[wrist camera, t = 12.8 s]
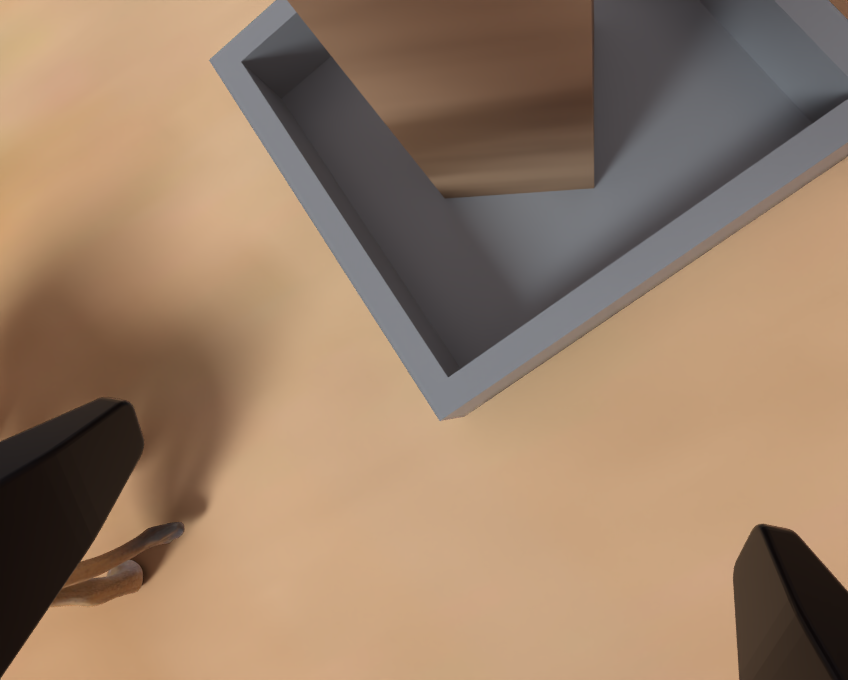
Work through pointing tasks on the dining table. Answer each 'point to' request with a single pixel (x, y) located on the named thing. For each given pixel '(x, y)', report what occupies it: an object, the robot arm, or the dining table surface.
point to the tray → (554, 210)
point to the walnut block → (474, 85)
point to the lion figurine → (113, 570)
